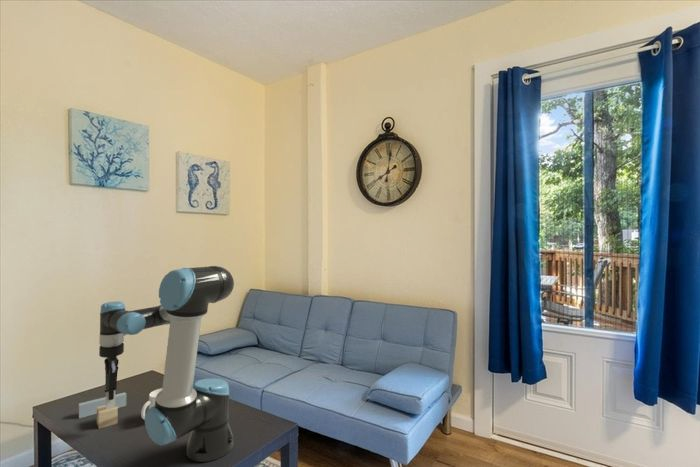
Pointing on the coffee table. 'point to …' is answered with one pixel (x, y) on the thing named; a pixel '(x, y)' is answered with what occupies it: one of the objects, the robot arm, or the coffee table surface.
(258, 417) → the coffee table surface
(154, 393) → the mug
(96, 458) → the coffee table surface
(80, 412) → the board
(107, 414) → the block
